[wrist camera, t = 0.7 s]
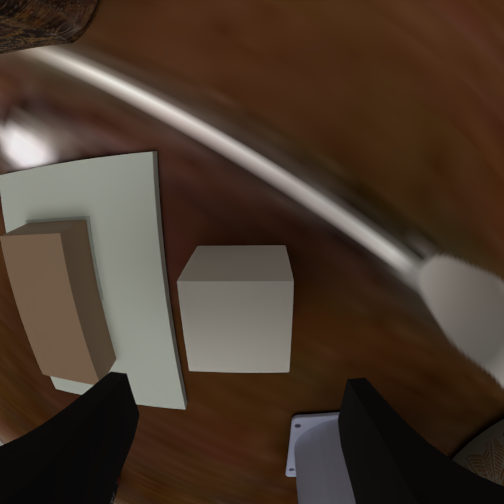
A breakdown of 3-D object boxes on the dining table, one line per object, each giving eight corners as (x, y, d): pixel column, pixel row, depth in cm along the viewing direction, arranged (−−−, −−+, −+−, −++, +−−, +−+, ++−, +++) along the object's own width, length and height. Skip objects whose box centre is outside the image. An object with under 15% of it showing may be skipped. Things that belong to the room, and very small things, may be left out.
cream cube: (283, 321, 20) (289, 372, 15) (203, 320, 20) (189, 370, 15) (285, 244, 18) (294, 281, 14) (197, 245, 18) (176, 281, 14)
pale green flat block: (187, 402, 22) (178, 438, 19) (59, 383, 23) (40, 410, 19) (157, 151, 16) (130, 153, 13) (5, 173, 17) (-31, 183, 13)
